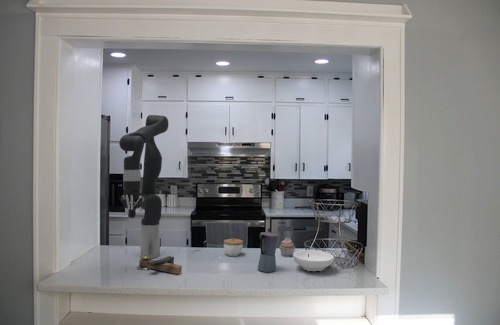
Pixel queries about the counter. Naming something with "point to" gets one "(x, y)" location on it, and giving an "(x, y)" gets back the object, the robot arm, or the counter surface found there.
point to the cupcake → (287, 247)
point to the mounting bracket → (197, 249)
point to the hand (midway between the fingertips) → (132, 217)
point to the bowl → (313, 259)
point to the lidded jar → (233, 246)
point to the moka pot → (268, 251)
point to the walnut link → (161, 266)
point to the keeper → (162, 261)
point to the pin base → (141, 267)
